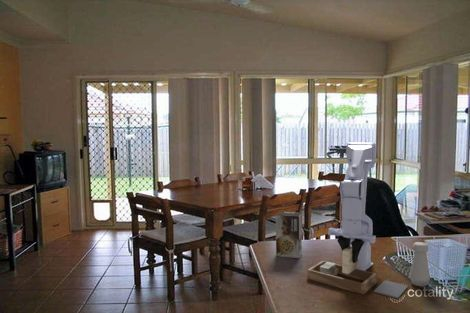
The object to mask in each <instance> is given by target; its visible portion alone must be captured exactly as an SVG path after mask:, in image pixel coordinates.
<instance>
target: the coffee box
mask: <svg viewBox="0 0 470 313" xmlns="http://www.w3.org/2000/svg"><path fill="white" fill-rule="evenodd" d="M302 221H303V219H302V212H301V211H284V210H283V211H278V212H277V213H276V214H275V256H276V257H283V258H293V259H300V258H301V256H302V253H303V250H302V249H303V245H302V243H303V242H302V241H303V240H302V239H303V236H302V235H303V233H302V232H303V231H302V223H303V222H302Z"/></svg>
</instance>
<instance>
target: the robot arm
mask: <svg viewBox="0 0 470 313" xmlns="http://www.w3.org/2000/svg"><path fill="white" fill-rule="evenodd" d="M345 154H346V155H345V157H346V160H347V164H348V167H347V168H346V170H345V171H346V172H345V175H344V180H343V181H341V182H340V185H339V186H340V188H339V191H340V192H339V193H340V200H341V201H340V204H341V205H342V206H341V228H335V227H330V228H328V230H327V232H328V233H327V235H328V236H336V237H338V238H337V243H338V245H339V246H340V250H341V252H342V251H343V250H344V249H346V248H347V247H349V246H351V245H352V252H353V255H352V261H353V263H356V262H357V260H358V255H359V267H357V268H356V269H360V270H364V271H367V270H369V268H371V267H372V266H374V262H371V260H372V259H371V257H372V255H371V254H372V246H371V244H375V243H377V242H376V239H377V238H376V237H377V236H376V235H373V233H374V232H373V220H372V218H370V217H369V216H368V215H367V214H366V202H367V199H366V198H367V186H368V185H367V183H368V175H369V172H370V170H372V169H373V168H375V165H376V158H377V157H376V156H377V144H376V142H375V141H374V142H351V141H348V142H347V143H346V150H345Z"/></svg>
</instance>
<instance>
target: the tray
mask: <svg viewBox="0 0 470 313" xmlns="http://www.w3.org/2000/svg"><path fill="white" fill-rule="evenodd" d="M326 262H328V261H326V260H321V261H319V262H318V263H316V264H315V265H313V266H311V267H310V268H307V270H306V272H307V274H306V275H307V277H306V279H307V280H309V281H314V282H317V283H320V284H325V285H328V286H331V287H332V286H333V287H334V288H335V287H336V288H339V289H342V290H347V291H350V292H353V293H357V294H361V295H365V294H366V293H367V292H368V291H369V290H371V289H372V287H374V286H375V285H376V284H377V276H378V274H377V273H378V272H377V273H376V272H372V271H367V270H365V271H364V270H360V269H355V270H353V271H352V272H351V273H349V274H345V273H342V264H338V263H335V264H336V268H337V269H338V275H341V276H344V277H348V278H352V279H357V280H360V281H363V282H360V281H355V280H352V279H347V278H344V277H341V276H338V275H336V276H333V275H329V274H325V273H322V272H320V266H322V265H323V264H325V263H326Z"/></svg>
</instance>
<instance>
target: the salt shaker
mask: <svg viewBox="0 0 470 313" xmlns="http://www.w3.org/2000/svg"><path fill="white" fill-rule="evenodd" d="M412 249H413V251H414V254H413V259H412V263H411V266H410V270H409V274H408V277H409V278H410V281H411V284H412V285H414V286H416V287H423V288H424V287H427V286H428V283H429V282H430V279H431V274H430V267H429V261H428V257H427V255H428V254H427V252H429V245H428V244H427V243H425V242H421V241H416V242H414V243H413V244H412Z"/></svg>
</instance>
